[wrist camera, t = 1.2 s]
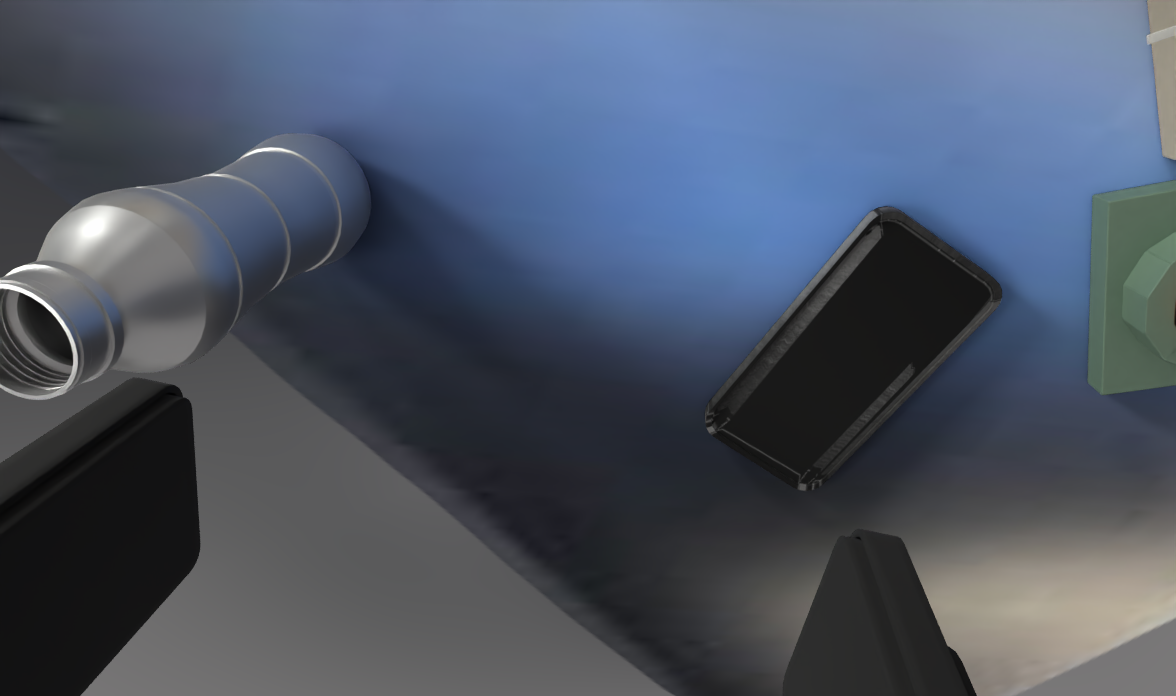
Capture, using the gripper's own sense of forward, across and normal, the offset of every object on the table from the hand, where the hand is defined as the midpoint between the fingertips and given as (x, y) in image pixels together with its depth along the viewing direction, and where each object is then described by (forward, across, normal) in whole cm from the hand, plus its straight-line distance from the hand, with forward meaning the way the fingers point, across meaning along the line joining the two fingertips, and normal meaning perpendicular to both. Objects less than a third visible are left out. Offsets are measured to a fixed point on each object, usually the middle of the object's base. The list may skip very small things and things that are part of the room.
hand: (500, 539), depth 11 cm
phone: (+29, -13, +8) cm, 33 cm away
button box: (+29, -27, 0) cm, 40 cm away
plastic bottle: (+29, +16, +4) cm, 33 cm away
